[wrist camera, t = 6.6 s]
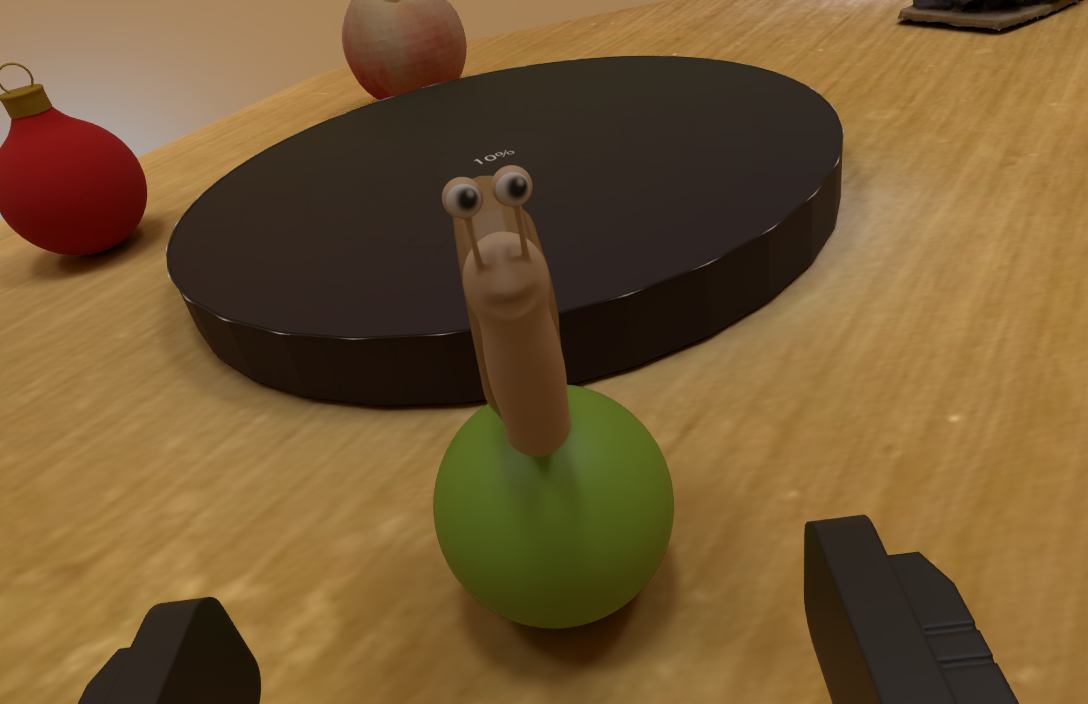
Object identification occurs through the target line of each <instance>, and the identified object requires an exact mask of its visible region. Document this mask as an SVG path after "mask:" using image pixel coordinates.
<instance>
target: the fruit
mask: <svg viewBox="0 0 1088 704" xmlns="http://www.w3.org/2000/svg"><path fill="white" fill-rule="evenodd" d="M342 43H343V49H344V53H345V56H346V59H347V62H348V64H349V66H350V68H351V70H352V72H353V74H354V76H355V77H356V79H357V80H358V82H359V83H360V85H361V86H362V87H363V88H364V89H365V90H366V91H367V92H368V93H369V94H371V95H372V96H373V97H375V98H376V99H378V100H383V99H386V98H389V97H393V96H396V95H400V94H403V93H407V92H410V91H414V90H417V89H420V88H424V87H427V86H431V85H435V84H439V83H443V82H448V81H452V80H456V79H459V78H460V76H461V74H462V71H463V68H464V64H465V59H466V47H467V46H466V38H465V33H464V29H463V26H462V23H461V20H460V18H459V16H458V14H457V12H456V11H455V9H454V8H453V7H452V5H451V4H450V3H449V2H448V1H447V0H352V1H351V2H350V4H349V7H348V9H347V12H346V15H345V18H344V23H343V29H342Z"/></svg>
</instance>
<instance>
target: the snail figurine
mask: <svg viewBox="0 0 1088 704" xmlns="http://www.w3.org/2000/svg"><path fill="white" fill-rule="evenodd" d="M531 193H532V180H531V178H530V176H529V174H528V173H527V172H526V171H525V170H524V169H523V168H521V167H519V166H515V165H509V166H505V167H503V168H501V169H499V170H498V171H497V172H496V173H495V175H494V176H478V177H476V178H474V179H470V178H467V177H457V178H454V179H452V180H451V181H449V182H448V183H447V184H446V186H445V187H444V189H443V193H442V202H443V206H444V208H445V209H446V211H447V212H448V213H449V214H450V215H452V216H453V225H454V234H455V242H456V249H457V256H458V262H459V268H460V273H461V279H462V285H463V290H464V296H465V301H466V306H467V311H468V316H469V321H470V327H471V332H472V337H473V342H474V347H475V351H476V356H477V361H478V366H479V371H480V376H481V381H482V386H483V391H484V395H485V398H486V400H487V402H488V404H487V405H485V406H484V407H482V408H481V409H480V410H478V411H477V412H476V413H475V414H474V415H473V416H472V417H471V418H470V419H469V420H468V421H467V422H466V423H465V424H464V425H463V426H462V427H461V429H460V430H459V431H458V432H457V434H456V435H455V437H454V438H453V440H452V441H451V443H450V445H449V447H448V448H447V450H446V452H445V455H444V457H443V459H442V462H441V465H440V467H439V471H438V474H437V478H436V483H435V489H434V502H433V510H434V522H435V528H436V533H437V537H438V541H439V544H440V547H441V550H442V552H443V555H444V557H445V559H446V561H447V563H448V565H449V567H450V569H451V570H452V572H453V574H454V575H455V577H456V578H457V579H458V581H459V582H460V583H461V584H462V586H463V587H464V588H465V589H466V590H467V591H468V592H469V593H470V594H471V595H472V596H473V597H474V598H475V599H476V600H477V601H479V602H480V603H481V604H482V605H484V606H485V607H487V608H488V609H490V610H491V611H493V612H494V613H496V614H498V615H500V616H502V617H504V618H506V619H509V620H511V621H514V622H517V623H520V624H523V625H528V626H532V627H538V628H553V629H556V628H569V627H576V626H580V625H584V624H588V623H591V622H594V621H597V620H599V619H602V618H604V617H606V616H608V615H610V614H612V613H613V612H615V611H617V610H618V609H620V608H621V607H623V606H624V605H625V604H627V603H628V602H629V601H630V600H632V599H633V598H634V597H635V596H636V595H637V594H638V593H639V592H640V591H641V590H642V589H643V588H644V586H645V585H646V584H647V583H648V582H649V580H650V579H651V577H652V576H653V575H654V573H655V571H656V570H657V568H658V566H659V564H660V562H661V560H662V558H663V556H664V554H665V551H666V549H667V546H668V543H669V539H670V535H671V530H672V525H673V516H674V497H673V488H672V482H671V478H670V474H669V470H668V467H667V464H666V461H665V459H664V457H663V454H662V452H661V450H660V448H659V446H658V445H657V443H656V441H655V440H654V438H653V437H652V435H651V434H650V432H649V431H648V430H647V429H646V427H645V426H644V425H643V424H642V423H641V422H640V421H639V420H638V419H637V418H636V417H635V416H634V415H633V414H632V413H631V412H630V411H628V410H627V409H626V408H625V407H623V406H622V405H620V404H619V403H617V402H616V401H614V400H612V399H611V398H609V397H607V396H605V395H603V394H600V393H598V392H595V391H593V390H590V389H586V388H583V387H579V386H573V385H567V379H566V371H565V365H564V359H563V354H562V350H561V340H560V332H559V315H558V309H557V304H556V299H555V294H554V290H553V285H552V281H551V277H550V273H549V269H548V266H547V262H546V259H545V257H544V254H543V251H542V247H541V244H540V241H539V238H538V235H537V231H536V228H535V226H534V223H533V221H532V219H531V217H530V215H529V214H528V213H527V212H526V211H524V210H523V208H522V204H523V203H525V202H526V201H527V200H528V199H529V197H530V195H531Z"/></svg>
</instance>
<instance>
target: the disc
mask: <svg viewBox="0 0 1088 704" xmlns="http://www.w3.org/2000/svg"><path fill="white" fill-rule="evenodd" d="M843 136H844V131H843V128H842V126H841V123H840V120H839V118H838V115H837V112H836V110H835V108H834V107H833V106H832V105H831V104H830V103H828V102H827V101H826V100H825V99H824V98H823V97H822V96H821V95H820V94H819V93H818V92H817V91H815V90H814V89H813V88H811V87H808V86H806V85H804V84H802V83H800V82H798V81H796V80H794V79H792V78H790V77H788V76H786V75H784V74H780V73H777V72H773V71H769V70H766V69H762V68H759V67H755V66H752V65H748V64H741V63H735V62H728V61H722V60H715V59H709V58H693V57H677V56H616V57H602V58H589V59H575V60H566V61H558V62H551V63H543V64H535V65H527V66H521V67H516V68H510V69H505V70H499V71H494V72H488V73H483V74H477V75H473V76H469V77H465V78H460V79H456V80H452V81H448V82H443V83H439V84H435V85H431V86H427V87H424V88H420V89H417V90H414V91H410V92H407V93H403V94H400V95H396V96H393V97H389V98H386V99H383V100H380V101H377V102H375V103H372V104H369V105H366V106H363V107H360V108H358V109H355V110H352V111H349V112H346V113H343V114H341V115H338V116H336V117H334V118H331V119H329V120H327V121H324V122H322V123H319V124H317V125H315V126H312V127H310V128H308V129H305V130H303V131H300V132H298V133H296V134H295V135H293V136H291V137H289V138H287V139H285V140H283V141H281V142H279V143H277V144H275V145H273V146H271V147H269V148H267V149H265V150H263V151H261V152H260V153H258V154H257V155H255V156H253V157H252V158H250V159H249V160H247V161H246V162H244V163H242V164H241V165H239V166H238V167H236V168H235V169H233V170H231V171H230V172H228V173H227V174H225V175H224V176H223V177H222V178H221V179H219V180H218V181H217V182H216V183H215V184H213V185H212V186H211V187H210V188H208V189H207V190H206V191H205V192H204V193H202V194H201V195H200V196H199V197H198V198H197V199H196V200H195V201H194V202H193V204H192V205H191V206H190V207H189V209H188V210H187V211H186V212H185V213H184V215H183V216H182V217H181V218H180V219H179V221H178V222H177V223H176V225H175V228H174V230H173V233H172V235H171V238H170V240H169V243H168V245H167V247H166V257H167V268H168V276H169V277H170V278H171V280H172V281H173V282H174V284H175V285H176V286H177V288H178V289H179V290H180V293H181V295H182V297H183V299H184V301H185V303H186V305H187V307H188V309H189V311H190V313H191V315H192V317H193V319H194V321H195V323H196V326H197V328H198V330H199V331H200V333H201V334H202V336H203V337H204V338H205V340H206V341H207V343H208V344H209V345H210V347H211V348H212V350H213V351H214V353H215V354H216V355H217V357H218V358H220V359H221V360H223V361H224V362H226V363H228V364H229V365H231V366H232V367H234V368H235V369H237V370H239V371H240V372H242V373H243V374H245V375H246V376H248V377H250V378H251V379H253V380H255V381H258V382H261V383H264V384H267V385H271V386H274V387H277V388H280V389H284V390H287V391H290V392H293V393H296V394H300V395H303V396H306V397H312V398H320V399H329V400H337V401H346V402H354V403H363V404H371V405H406V404H443V403H464V402H470V401H477V400H484V399H486V398H485V395H484V391H483V386H482V381H481V376H480V371H479V366H478V361H477V356H476V351H475V347H474V342H473V337H472V332H471V327H470V321H469V316H468V311H467V306H466V301H465V296H464V290H463V285H462V279H461V273H460V268H459V262H458V256H457V249H456V242H455V234H454V225H453V216H452V215H450V214H449V213H448V212H447V211H446V209H445V208H444V206H443V202H442V193H443V189H444V187H445V186H446V184H447V183H448V182H449V181H451V180H452V179H454V178H457V177H467V178H470V179H474V178H476V177H478V176H494V175H495V173H496V172H497V171H498V170H499V169H501V168H503V167H505V166H509V165H515V166H519V167H521V168H523V169H524V170H525V171H526V172H527V173H528V174H529V176H530V178H531V180H532V193H531V195H530V197H529V199H528V200H527V201H526V202H525V203H523V204H522V208H523V210H524V211H526V212H527V213H528V214H529V215H530V217H531V219H532V221H533V223H534V226H535V228H536V231H537V235H538V238H539V241H540V244H541V247H542V251H543V254H544V257H545V259H546V262H547V266H548V269H549V273H550V277H551V281H552V285H553V290H554V294H555V299H556V304H557V309H558V315H559V332H560V340H561V350H562V354H563V359H564V365H565V371H566V379H567V385H568V384H571V383H575V382H579V381H582V380H586V379H590V378H593V377H597V376H601V375H604V374H608V373H612V372H615V371H619V370H623V369H627V368H630V367H634V366H636V365H639V364H641V363H644V362H646V361H649V360H651V359H653V358H656V357H658V356H661V355H663V354H666V353H668V352H671V351H673V350H675V349H678V348H680V347H683V346H685V345H688V344H690V343H692V342H695V341H697V340H700V339H702V338H705V337H707V336H710V335H711V334H713V333H715V332H716V331H718V330H720V329H721V328H723V327H725V326H727V325H728V324H730V323H732V322H733V321H735V320H737V319H738V318H740V317H742V316H743V315H745V314H747V313H749V312H750V311H752V310H754V309H755V308H757V307H759V306H760V305H762V304H764V303H766V302H767V301H769V300H770V299H771V298H773V297H774V296H775V295H776V294H777V293H778V292H779V291H781V290H782V289H783V288H784V287H785V286H786V285H787V284H788V283H790V282H791V281H792V280H793V279H794V278H795V277H796V276H798V275H799V274H800V273H801V272H802V271H803V270H804V269H806V268H807V267H808V266H809V265H810V264H811V263H812V262H813V260H814V259H815V257H816V256H817V254H818V253H819V251H820V250H821V248H822V247H823V245H824V243H825V242H826V240H827V239H828V237H829V236H830V234H831V233H832V231H833V230H834V228H835V224H836V219H837V214H838V208H839V203H840V198H841V171H842V146H843Z"/></svg>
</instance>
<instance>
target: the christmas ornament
mask: <svg viewBox="0 0 1088 704" xmlns="http://www.w3.org/2000/svg"><path fill="white" fill-rule="evenodd" d="M7 65H18V66H20V67H22V68H24V69H25V70H26V71H27V72H28V73H29V74H30V77H31V85H29V86H25V87H21V88H18V89H14V90H10V91H7V90H6V89H4V88H3V87H2V85H1V84H0V87H1V89H3V90H4V91H5V92H6V93H4V94H2V95H0V101H1V102H2V103H3V105H4V107H5V108H6V110H7V112H8V114H9V116H10V118H12V119H11V127H10V131H9V134H8V137H7V138H6V140H5V142H4V143H3V145H2V146H1V148H0V213H1V215H2V217H3V218H4V219H5V221H6V222H7V223H8V225H9V226H10V227H11V228H12V229H13V230H14V231H15V232H16V233H18V234H19V235H20V236H21V237H23V238H24V239H26V240H27V241H29V242H30V243H32V244H34V245H36V246H38V247H40V248H43V249H45V250H48V251H51V252H55V253H59V254H65V255H89V254H95V253H99V252H102V251H105V250H108V249H110V248H112V247H114V246H116V245H118V244H119V243H121V242H122V241H123V240H125V239H126V238H127V237H128V236H129V235H130V234H131V233H132V232H133V231H134V230H135V228H136V227H137V226H138V224H139V222H140V220H141V218H142V216H143V214H144V211H145V207H146V202H147V185H146V179H145V175H144V173H143V170H142V168H141V166H140V163H139V162H138V160H137V158H136V157H135V155H134V154H133V152H132V151H131V150H130V149H129V148H128V147H127V146H126V145H125V144H124V143H123V142H122V141H121V140H120V139H119V138H118V137H116V136H115V135H113V134H112V133H110V132H109V131H107V130H105V129H103V128H102V127H100V126H97V125H95V124H93V123H90V122H86V121H83V120H79V119H75V118H72V117H69V116H67V115H65V114H63V113H61V112H60V111H58V110H56V109H55V108H54V107H52V104H51V102H50V101H49V99H48V97H47V95H46V93H45V91H44V89H43V86H42V85H41V84H34V85H33V77H32V74H31V73H30V72H29V70H28V69H26V68H25V67H24V66H22V65H20V64H16V63H7V64H4V65H2V66H1V67H0V70H1V69H2V68H3V67H5V66H7Z"/></svg>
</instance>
